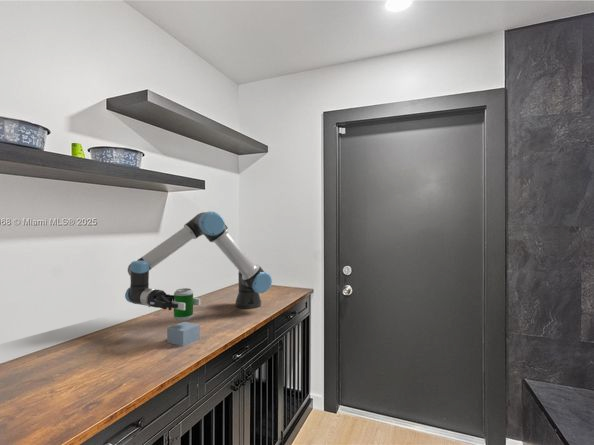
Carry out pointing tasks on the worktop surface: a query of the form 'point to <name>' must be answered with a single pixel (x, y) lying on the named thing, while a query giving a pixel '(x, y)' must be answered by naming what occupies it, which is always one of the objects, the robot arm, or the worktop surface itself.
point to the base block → (183, 333)
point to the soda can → (187, 298)
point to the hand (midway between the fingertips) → (192, 304)
